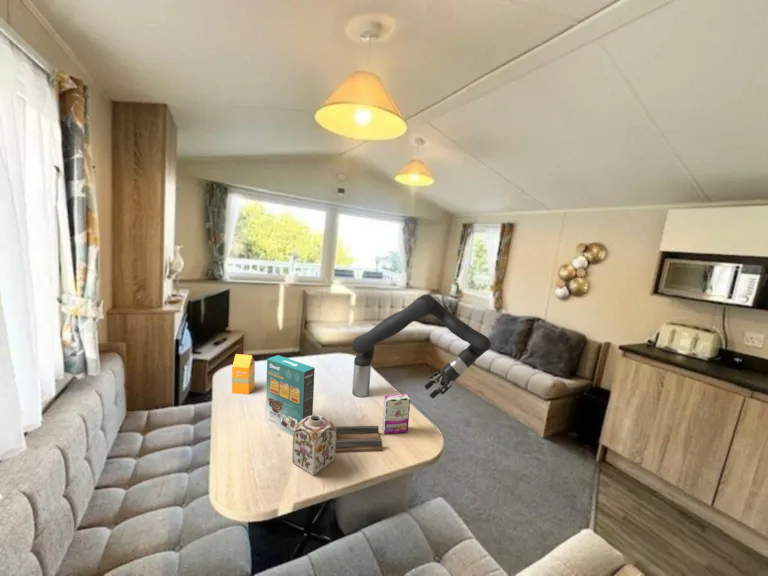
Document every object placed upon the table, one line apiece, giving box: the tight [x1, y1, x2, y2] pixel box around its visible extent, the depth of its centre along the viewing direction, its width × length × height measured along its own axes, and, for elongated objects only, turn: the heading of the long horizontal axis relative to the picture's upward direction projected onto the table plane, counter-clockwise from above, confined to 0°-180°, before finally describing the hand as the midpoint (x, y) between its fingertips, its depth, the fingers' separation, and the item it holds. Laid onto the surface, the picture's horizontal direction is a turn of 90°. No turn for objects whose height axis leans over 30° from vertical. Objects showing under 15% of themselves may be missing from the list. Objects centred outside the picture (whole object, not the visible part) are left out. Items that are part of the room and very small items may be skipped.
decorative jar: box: [291, 414, 336, 476], centre depth 127 cm, size 12×12×18 cm
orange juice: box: [231, 353, 256, 395], centre depth 177 cm, size 8×9×20 cm
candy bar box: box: [381, 393, 411, 435], centre depth 151 cm, size 11×5×16 cm, turn 105°
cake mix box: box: [265, 354, 316, 437], centre depth 146 cm, size 22×6×30 cm, turn 59°
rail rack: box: [335, 425, 383, 453], centre depth 142 cm, size 14×20×4 cm
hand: (428, 392), depth 152 cm, fingers open, 8 cm apart
